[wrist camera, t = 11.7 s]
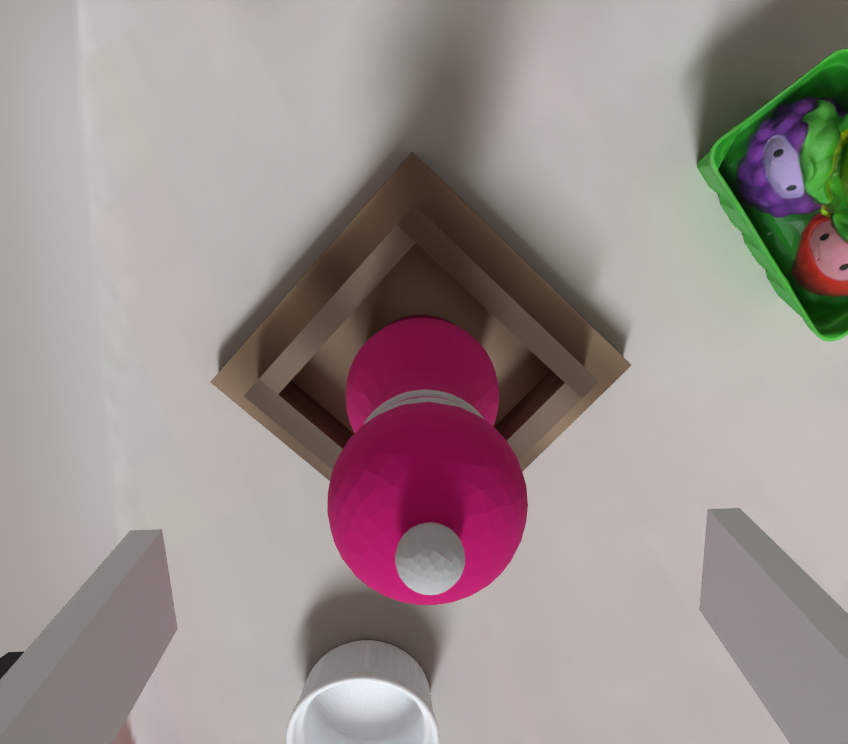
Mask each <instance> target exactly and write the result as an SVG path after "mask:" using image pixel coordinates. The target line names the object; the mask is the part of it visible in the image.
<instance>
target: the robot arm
mask: <svg viewBox="0 0 848 744" xmlns="http://www.w3.org/2000/svg"><path fill="white" fill-rule="evenodd" d="M700 611H701V612H702V614H703V615H704V617H705V618H706V620H707V621H708V623H709V624H710V626H711V627H712V629H713V630H714V632H715V633H716V635H717V636H718V638H719V639H720V641H721V642H722V644H723V645H724V647H725V648H726V649H727V651H728V652H729V654H730V655H731V657H732V658H733V660H734V661H735V663H736V664H737V666H738V667H739V669H740V670H741V672H742V673H743V675H744V676H745V678H746V679H747V681H748V682H749V684H750V685H751V686H752V688H753V689H754V691H755V692H756V694H757V695H758V697H759V698H760V700H761V701H762V703H763V704H764V706H765V707H766V709H767V710H768V712H769V713H770V715H771V716H772V718H773V719H774V720H775V722H776V723H777V725H778V726H779V728H780V729H781V731H782V732H783V734H784V735H785V737H786V738H787V740H788V741H789V743H790V744H848V613H847V612H846V611H845V610H843V609H842V608H841V607H840V606H839V605H838V604H837V603H836V602H835V601H834V600H833V599H832V598H831V597H830V596H829V595H828V594H827V593H826V592H825V591H824V590H823V589H822V588H821V587H820V586H819V585H818V584H817V583H816V582H815V581H814V580H813V579H812V578H811V577H810V576H809V575H808V574H807V573H806V572H805V571H804V570H802V569H801V568H800V567H799V566H798V565H797V564H796V563H795V562H794V561H793V560H792V559H791V558H790V557H789V556H788V555H787V554H786V553H785V552H784V551H783V550H782V549H781V548H780V547H779V546H778V545H777V544H776V543H775V542H774V541H773V540H772V539H771V538H770V537H769V536H768V535H767V534H766V533H765V532H764V531H762V530H761V529H760V528H759V527H758V526H757V525H756V524H755V523H754V522H753V521H752V520H751V519H750V518H749V517H748V516H747V515H746V514H745V513H744V512H743V511H742V510H741V509H740V508H731V509H708V511H707V523H706V536H705V548H704V561H703V573H702V586H701V598H700ZM176 630H177V622H176V616H175V610H174V603H173V597H172V590H171V584H170V578H169V571H168V565H167V558H166V552H165V546H164V539H163V533H162V530H135V531H130V532H129V533H128V534H127V535H126V536H125V537H124V538H123V540H122V541H121V542H120V543H119V544H118V545H117V546H116V548H115V549H114V550H113V551H112V552H111V553H110V555H109V556H108V557H107V558H106V559H105V560H104V561H103V563H102V564H101V565H100V566H99V567H98V568H97V569H96V571H95V572H94V573H93V574H92V575H91V576H90V578H89V579H88V580H87V581H86V582H85V583H84V584H83V585H82V587H81V588H80V589H79V590H78V591H77V592H76V594H75V595H74V596H73V597H72V598H71V599H70V600H69V601H68V603H67V604H66V605H65V606H64V607H63V608H62V610H61V611H60V612H59V613H58V614H57V615H56V616H55V618H54V619H53V620H52V621H51V622H50V623H49V625H48V626H47V627H46V628H45V629H44V630H43V631H42V632H41V634H40V635H39V636H38V637H37V638H36V639H35V640H34V642H33V643H32V644H31V645H30V646H29V647H28V649H27V650H26V651H25V652H8V653H7V654H5V655H4V656H2V657H1V658H0V744H112V743H113V742H114V740H115V738H116V736H117V735H118V732H119V731H120V729H121V727H122V726H123V724H124V722H125V720H126V719H127V717H128V715H129V713H130V712H131V710H132V708H133V706H134V704H135V703H136V701H137V699H138V697H139V696H140V694H141V692H142V690H143V689H144V687H145V685H146V683H147V681H148V680H149V678H150V676H151V674H152V673H153V671H154V669H155V667H156V666H157V664H158V662H159V660H160V658H161V657H162V655H163V653H164V651H165V650H166V648H167V646H168V644H169V643H170V641H171V639H172V637H173V635H174V634H175V632H176Z"/></svg>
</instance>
